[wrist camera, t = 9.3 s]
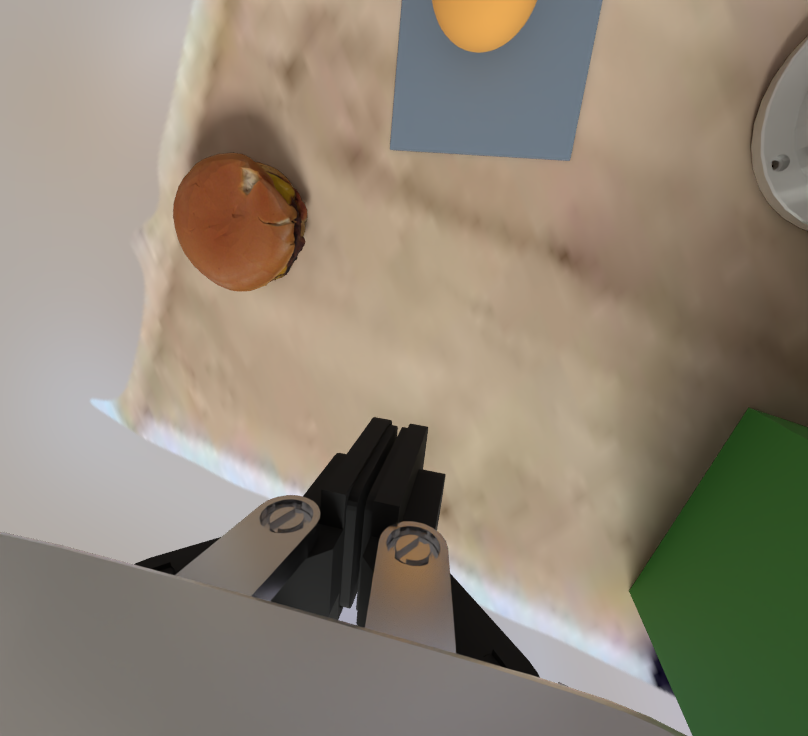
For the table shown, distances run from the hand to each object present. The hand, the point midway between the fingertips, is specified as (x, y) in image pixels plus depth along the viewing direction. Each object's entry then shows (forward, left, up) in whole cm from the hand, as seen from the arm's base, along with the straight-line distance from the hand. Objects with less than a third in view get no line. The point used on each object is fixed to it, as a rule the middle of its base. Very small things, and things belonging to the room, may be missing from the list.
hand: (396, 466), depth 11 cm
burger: (-7, -17, -20) cm, 27 cm away
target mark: (-19, 0, -19) cm, 27 cm away
